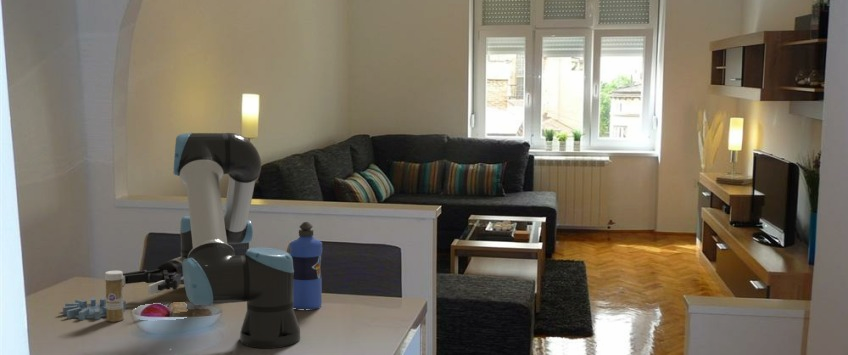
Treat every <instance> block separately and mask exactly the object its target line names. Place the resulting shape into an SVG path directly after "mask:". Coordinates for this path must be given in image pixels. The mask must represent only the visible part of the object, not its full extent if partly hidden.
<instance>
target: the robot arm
mask: <svg viewBox="0 0 848 355" xmlns="http://www.w3.org/2000/svg"><path fill="white" fill-rule="evenodd" d="M261 171H262V161H261V156H260V153H259V151H258V149H257V147H256V146H254V144H253V143H252V142H251V141H250V140H249V139H248V138H247V137H244V136H243V135H240V134H238V133H234V132H225V133H224V132H196V133H195V132H189V133H180V134H178V135H177V136H176V138H175V145H174V158H173V174H174V176H177V177H179V179H180V181H181V182H182V183H183V184H184V185H185V186H186V193H187V204H188V213H189V215H185V216H183V217H182V218H181V219H180V227H179V228H180V229H179V232H180V256H178V257H175V258H173V259H170V260H167V261H163V262H162V263H160V264H159V266H158V267H157V268H156V269H155V268H154V269H153V270H149V269H147V268H145V269H142V270H138V271H131V272H125V273H123V280H122V287H124V286H126V285H129V284H139V283H145V284H148V285H147V294H148V296H152V295H154V294H158V293H159V292H163V291H165V290H171V289H172V290H177V289H178V288H179V286H180V285H181V284H184V290H185V293H186V297H187V299H188V301H189V302H190V303H191V304H192V305H193V306H212V305H220V304H231V303H245V302H246V313H245V316H244V319H243V322H242V326H241V328H240V333H239V336H240V339H239V341H240V342H241V344H243V345H244V346H248V347H251V348H257V349H258V348H259V349H260V348H261V349H272V348H276V349H277V348H283V347H287V346H290V345H291V346H292V345H294V344H296V343H297V342H298V341H300V340H301V328H300V325H299V321H298V319H297V316H296V314H295V313H296V312H295V310H294V309H293V273H294V269H293V259H292V256H291V255H290V252H287V251H285V250H282V249H278V248H270V247H261V246H260V247H259V246H257V247H250V248H248V249H246V252H245V254H244V255H243V254H242V255H236V252H235V249H234V248H233V246H232V245H241V244H247V243H248V244H249V243H251V241H252V240H253V223H252V221H251V220H250V219H249V215H250V210H251V205H252V200H253V196H254V189H255V184H256V181H257V180H258V179H259V178H260V175H261ZM224 175H228V177H229V178H228V183H227V191H226V192H227V193H226V196H225V197H226V198H225V206H224V210H223V202H222V195H221V194H222V193H221V188H220V181H221V180H222V178H223V177H224Z"/></svg>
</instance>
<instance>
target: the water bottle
mask: <svg viewBox="0 0 848 355" xmlns="http://www.w3.org/2000/svg"><path fill="white" fill-rule="evenodd" d="M299 228H300V229H298V236H299V237H298V238H297V239H294V240H293V241H291V242H289V254H290V255H291V256H292V259H293V269H294V273H293V308H296V309H304V310H306V309H316V308H319V307H321V308H322V306H321V305H322V304H323V303H322V302H323V301H322V298H323V297H322V293H323V292H322V289H323V288H322V287H323V286H322V283H323V282H322V279H323V278H322V272H321V264H322V263H321V261H322V254H323V242H322V241H320V240H318V239H316V238H315V237H314V229H312V228H313V225H312V224H311V223H310V222H308V221H305V222H302V223H301V224H300V225H299ZM319 309H320V308H319ZM316 310H317V309H316Z"/></svg>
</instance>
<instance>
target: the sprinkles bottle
mask: <svg viewBox="0 0 848 355" xmlns="http://www.w3.org/2000/svg"><path fill="white" fill-rule="evenodd" d="M104 279H105V297H106V312H107V317H105V318H106V319H105V320H106V321H107V322H112V323H113V322H115V323H116V322H120V321H123V320H124V313H123V301H124V288H123V287H122V280H123V270H108V271H105V273H104Z"/></svg>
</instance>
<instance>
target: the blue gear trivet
mask: <svg viewBox="0 0 848 355" xmlns="http://www.w3.org/2000/svg"><path fill="white" fill-rule="evenodd" d="M125 310H127V302H126V300H123V314H124V313H125ZM62 316H63V317H64V316H66V319H69V320H70V319H78V320H79V321H85V320H90V319H92V320H93V319H94V320H95V321H96V320H101V318H107V312H106V296H104V297H102V298H100V300H99V302H96V297H95V296H91V297H89V303H87V300H83V299H80V298H78V299H75V300H74V302H66V303H65V305H64V306H62Z"/></svg>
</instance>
